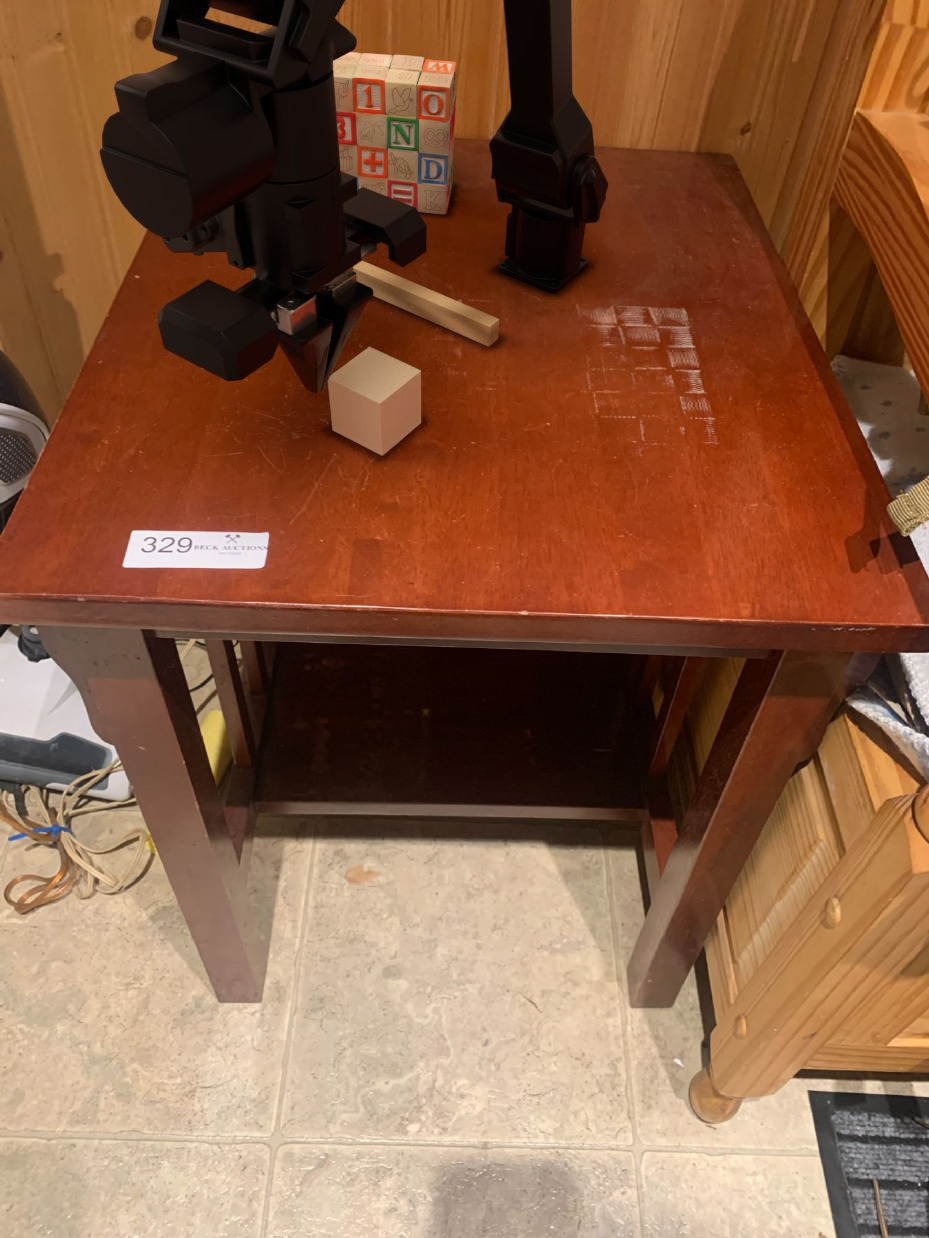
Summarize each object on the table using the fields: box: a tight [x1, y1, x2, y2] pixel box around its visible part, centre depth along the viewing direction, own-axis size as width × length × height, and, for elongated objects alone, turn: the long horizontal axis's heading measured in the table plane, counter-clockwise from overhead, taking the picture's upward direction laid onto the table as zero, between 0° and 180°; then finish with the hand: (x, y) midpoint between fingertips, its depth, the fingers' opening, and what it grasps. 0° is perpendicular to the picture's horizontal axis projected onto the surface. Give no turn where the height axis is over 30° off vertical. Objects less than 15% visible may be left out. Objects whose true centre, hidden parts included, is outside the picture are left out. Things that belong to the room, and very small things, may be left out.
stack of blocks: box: [333, 51, 457, 215], centre depth 91 cm, size 21×6×12 cm, turn 84°
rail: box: [353, 260, 500, 348], centre depth 82 cm, size 18×2×2 cm, turn 55°
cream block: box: [327, 346, 422, 457], centre depth 70 cm, size 5×5×5 cm
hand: (314, 389), depth 63 cm, fingers closed
